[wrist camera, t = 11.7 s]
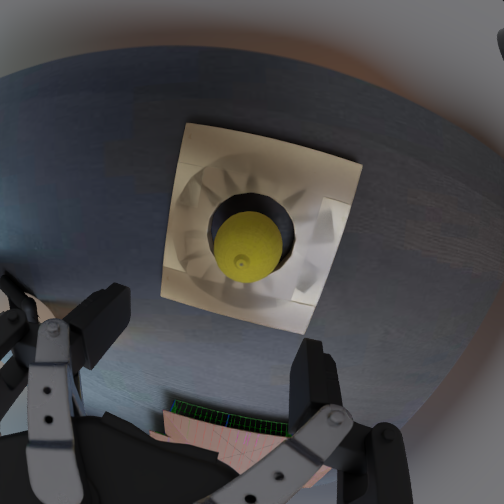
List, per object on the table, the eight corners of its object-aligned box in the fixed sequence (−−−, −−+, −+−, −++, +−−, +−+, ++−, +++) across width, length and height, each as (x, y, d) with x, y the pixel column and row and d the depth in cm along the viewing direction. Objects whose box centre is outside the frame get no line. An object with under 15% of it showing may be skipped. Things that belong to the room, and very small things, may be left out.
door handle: (3, 339, 38) (46, 382, 38) (-13, 266, 31) (30, 310, 31) (11, 333, 41) (54, 373, 41) (-1, 260, 34) (44, 302, 34)
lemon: (222, 254, 27) (199, 291, 20) (229, 199, 25) (205, 218, 18) (277, 264, 27) (274, 305, 19) (287, 209, 25) (289, 232, 18)
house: (153, 389, 36) (133, 427, 29) (356, 425, 35) (362, 465, 27) (161, 448, 44) (150, 476, 37) (310, 475, 43) (309, 505, 35)
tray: (191, 124, 23) (186, 122, 22) (358, 164, 23) (363, 165, 21) (165, 290, 30) (160, 296, 28) (303, 327, 29) (304, 335, 28)
